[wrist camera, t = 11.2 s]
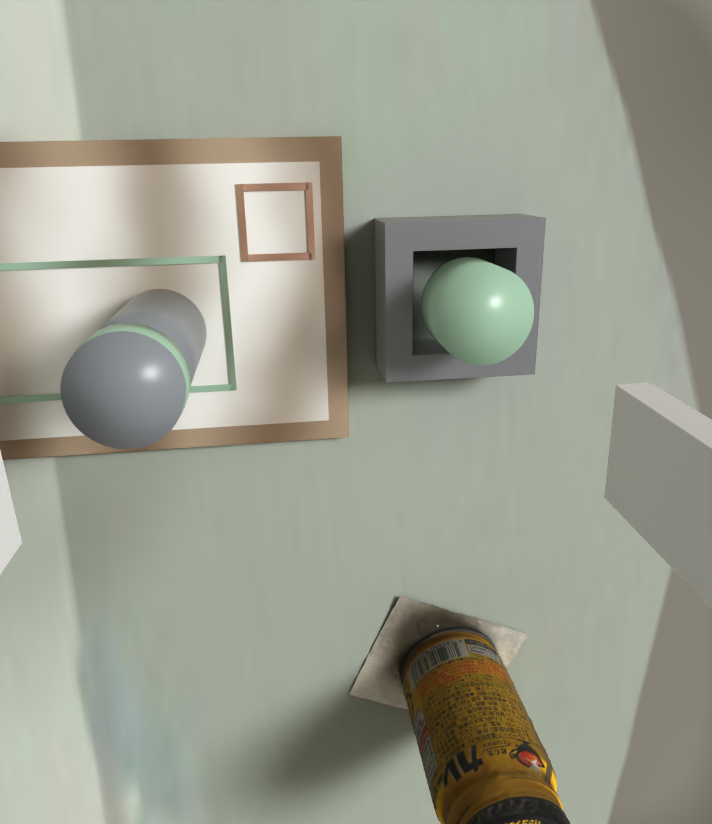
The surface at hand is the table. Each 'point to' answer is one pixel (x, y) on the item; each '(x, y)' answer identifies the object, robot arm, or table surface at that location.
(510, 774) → the condiment
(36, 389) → the framed board
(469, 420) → the table surface
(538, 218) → the button box
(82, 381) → the marker
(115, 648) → the table surface
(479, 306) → the button
